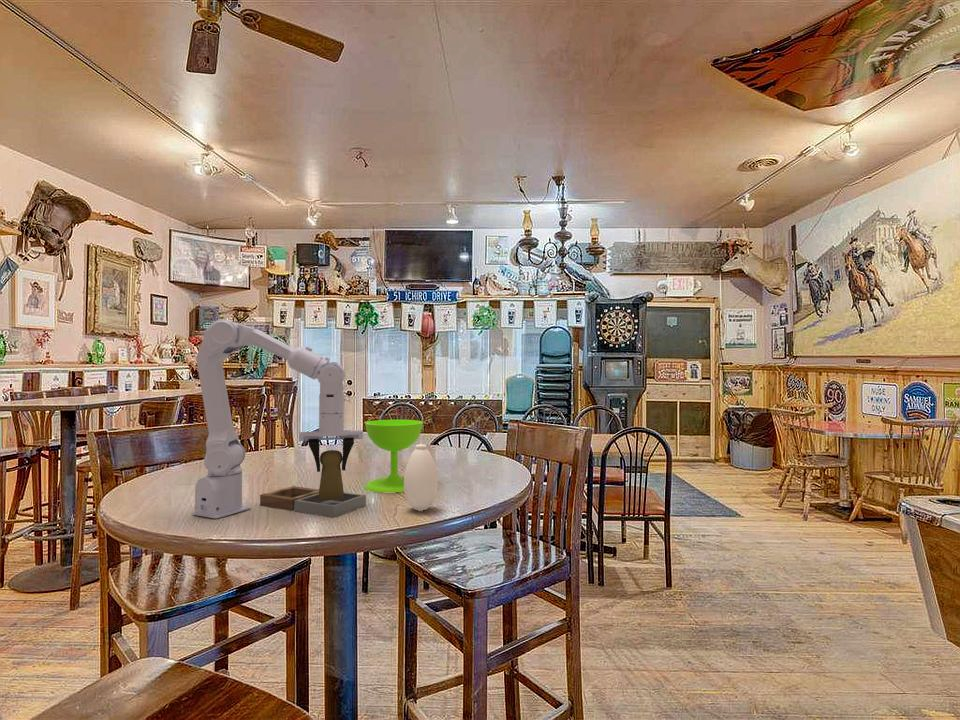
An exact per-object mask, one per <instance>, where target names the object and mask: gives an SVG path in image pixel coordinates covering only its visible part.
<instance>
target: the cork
mask: <svg viewBox="0 0 960 720" xmlns="http://www.w3.org/2000/svg"><path fill="white" fill-rule="evenodd" d="M319 458H320V465H321V474H320V481H319V488H318V489H319V496H318V498H319V499H321V500H337V499H341V498H343V497H344V492H345V491H344V483H343V477H342V467H341V465H342V458H343V453H342V452H341V451H339V450H335V449H333V450H332V449H329V450H326V451H323V452H321V453H320V454H319Z"/></svg>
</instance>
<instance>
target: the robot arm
mask: <svg viewBox="0 0 960 720" xmlns="http://www.w3.org/2000/svg"><path fill="white" fill-rule="evenodd" d="M244 346H247V347H255V346H256V347H258V348H260V349H262V350H264V351H267V352H268V353H271V354H273V355H275V356H278V357H279V358H282V359H285V360H286V361H287V364H288V366H289V368H290V369H292V370H294V371H296V372H298V373H299V374H300V373H301V374H302V375H304V376H306V377H308V378H310V379H312V380H317V381H318V383H319V395H318V396H319V397H318V398H319V399H318V402H319V403H318V404H319V406H318V430H314V431H312V430H311V431H299V432H298V441H299V442H306V441H308V442H307V443H308V444H307V445H308V447H309V449H310V450H311V453H312V455H313V458H314V463H315V464H316V465H315V466H316V472H317V473H320V472H321V462H320V442H321V441H331V440H333V441H334V440H338V441H339V440H342V462H341V472H342V471H346V465H347V462H348V458H349V455H350V453H351V450H352V448H353V446H354V443H355V440H363V439H364V430H362V429H361V430H360V429H359V430H358V429H356V430H353V429H347V430H346V429H345V393H344V389H345V387H344V383H343V382H344V381H345V379H346V370H345V369H344V367H343V366H342V365H341V364H339V363H338V362H336V361H331V358H330V357H329V356H325V357H324V356H322V355H320V354H319V353H316V352H314V351H313V348H311V347H310V346H306V347H304V346H298V347H291V346H290V345H288V344H287V343H284V342H282V341H280V340H278V339H277V338H274V337H273V336H272V335H269V334H267V333H266V332H264V331H262V330H260V329H257V328H254V327H251V326H248V325H244V324H242V323H241V322H237V321H236V322H234V321H231V320H229V319H225V318H224V319H223V318H220V319H217V320H214V321H213V322H212V323H211V324H209V326H208V327H207V328H206V329H205V330H204V331H203V339H202V341H201V343H200V346H199V349H198V352H197V354H196V358H195V359H196V367H197V374H198V377H199V384H200V390H201V395H202V401H203V407H204V412H205V413H204V414H205V419H206V425H207V430H208V436H207V439H206V443H205V447H206V451H205V454H204V457H203V462H204V464H203V465H204V467H205V469H206V470H207V475H206V476H204V477H201V478H199V479H198V480H197V481H196V484H195V488H194V511H192V515H193V516H200V517H204V518H210V519H221V518H223V517H227V516H230V515H234V514H238V513H241V512H243V511H244V512H245V511H247V510H250V509H251V506H248V505H243V468H242V465H241V464H243V462H244V461H245V459H246V449H245V447H244V445H242V443H241V441H240V439H239V435H238V433H237V432H236V430H235V429H234V425H233V424H234V423H233V419H232V417H233V416H232V412H231V407H230V402H229V395H228V389H227V383H226V378H225V377H226V376H225V372H224V371H225V370H224V367H223V366H224V365H223V363H224V362H225V361H226V360H227V358H228V357H230V355H231V354H233V353H234V352H235V351H237V350H239V349H241V348H242V347H244ZM330 361H331V362H330Z"/></svg>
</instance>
